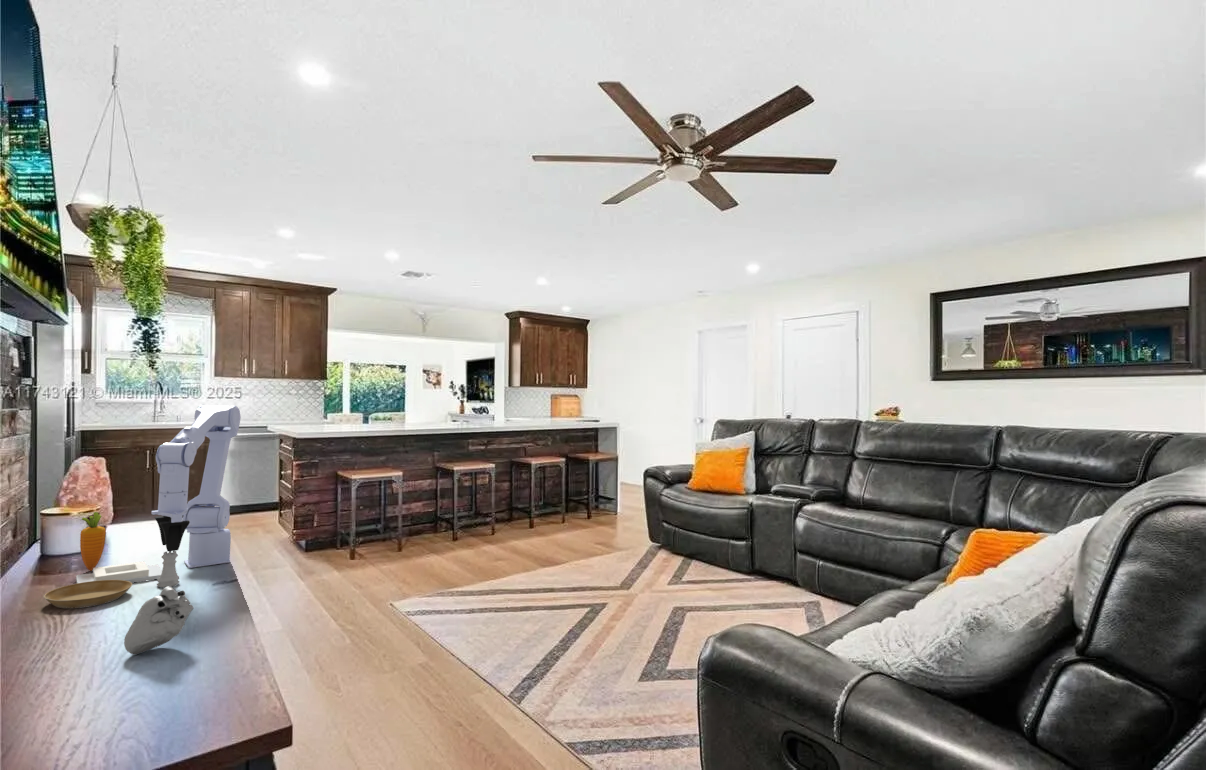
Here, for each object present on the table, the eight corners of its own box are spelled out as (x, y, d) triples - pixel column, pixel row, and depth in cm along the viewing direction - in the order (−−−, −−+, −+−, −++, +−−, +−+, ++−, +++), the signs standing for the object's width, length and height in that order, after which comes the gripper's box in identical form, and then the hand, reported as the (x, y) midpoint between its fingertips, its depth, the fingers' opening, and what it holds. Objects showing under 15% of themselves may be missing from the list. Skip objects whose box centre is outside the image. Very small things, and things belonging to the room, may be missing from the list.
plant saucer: (128, 586, 138) (129, 575, 138) (135, 602, 127) (135, 590, 127) (43, 599, 127) (43, 587, 127) (42, 618, 117) (43, 605, 117)
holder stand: (157, 567, 152) (158, 558, 152) (163, 578, 144) (164, 568, 144) (76, 579, 141) (76, 569, 141) (77, 591, 132) (78, 580, 133)
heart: (184, 631, 111) (174, 572, 109) (204, 643, 105) (194, 581, 104) (118, 658, 102) (107, 594, 101) (137, 672, 97) (125, 606, 96)
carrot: (91, 573, 146) (95, 514, 146) (72, 573, 146) (76, 514, 146) (108, 568, 151) (112, 511, 151) (90, 567, 151) (94, 510, 151)
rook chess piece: (183, 583, 140) (185, 550, 140) (164, 589, 136) (166, 555, 136) (171, 581, 141) (173, 549, 142) (151, 586, 137) (154, 553, 138)
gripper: (149, 489, 142) (145, 544, 141) (157, 496, 132) (153, 556, 131) (183, 487, 147) (180, 540, 146) (194, 494, 137) (190, 551, 136)
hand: (170, 547), depth 139 cm, fingers open, 7 cm apart
